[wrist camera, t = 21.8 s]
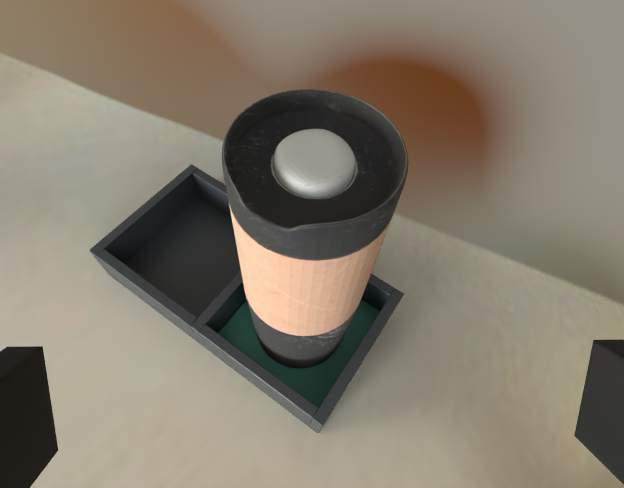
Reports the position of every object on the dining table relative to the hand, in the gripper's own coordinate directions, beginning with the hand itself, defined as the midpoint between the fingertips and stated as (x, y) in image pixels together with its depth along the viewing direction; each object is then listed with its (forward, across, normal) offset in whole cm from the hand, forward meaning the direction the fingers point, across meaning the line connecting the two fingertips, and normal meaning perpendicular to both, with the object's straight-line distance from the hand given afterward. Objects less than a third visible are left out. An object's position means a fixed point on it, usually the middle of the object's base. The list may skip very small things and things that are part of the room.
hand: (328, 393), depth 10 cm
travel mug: (+22, 0, -8) cm, 23 cm away
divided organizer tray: (+25, -4, -7) cm, 26 cm away
